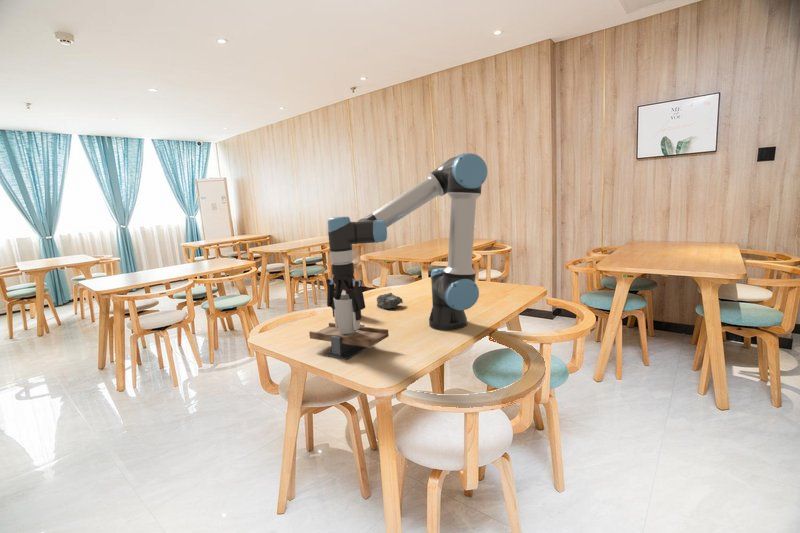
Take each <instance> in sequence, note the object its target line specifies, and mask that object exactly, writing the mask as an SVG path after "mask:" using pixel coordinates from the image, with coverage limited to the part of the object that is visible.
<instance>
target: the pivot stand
mask: <svg viewBox="0 0 800 533" xmlns="http://www.w3.org/2000/svg"><path fill="white" fill-rule="evenodd" d="M360 326H362V327H366V326H365V324H360ZM330 344H331V349H330V350H328V351H326V352H324V353H323V356H325V357H330V358H335V359H341V360H345V361H348V360H349V359H351V358H352V357H353V358H354V356H356V355H357V354H359V353H362V352H363V351H364V350H366V349H367V348H369V347H363V346H356V345H350V344H343V343H342V339H341V337H338V336H331V342H330Z"/></svg>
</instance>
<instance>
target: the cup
mask: <svg viewBox="0 0 800 533" xmlns="http://www.w3.org/2000/svg"><path fill="white" fill-rule="evenodd" d="M333 299H334V305H335V310H336V316H337V322H338V328H339V333H341V334H350V333H354V332H356V331H357V330H354V325H353V313H352V312H353V311H354V308H353V306H352V299H350V298H349V296H348V295H346V294H341V297H340V300H336V299H335V297H334V298H333Z"/></svg>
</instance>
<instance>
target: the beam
mask: <svg viewBox="0 0 800 533" xmlns="http://www.w3.org/2000/svg"><path fill="white" fill-rule="evenodd" d="M308 332H309V333H308V334H309V339H312V340H317V341H324V342H329V343H331V336H338V337H341V339H342V343H343V344H350V345H356V346H363V347H368V348H372V347H373V346H375V345H377V344H379V343H380V342H382V341H384V340H385V339H387V338H389V336H390V335H389V329H384V328H377V327H369V326H365V327H362V326H360V328H359V329H357V331H356V332H354V333H350V334H341V333H339V328H338V327H337V328H336V327H335V322H329V323H328V326H327V327H325V328H324V327H323V329H320V330H318V331H313V330H311V331H308Z"/></svg>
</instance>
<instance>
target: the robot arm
mask: <svg viewBox="0 0 800 533" xmlns="http://www.w3.org/2000/svg"><path fill="white" fill-rule="evenodd" d="M487 177H488V166H487V164H486V162H485V160H484V159H483V158H482V157H481V156H480V155H478V154H475V153H472V152H470V153H468V152H467V153H461V154H458V155H457V156H453V157H451V158H449V159H447V160H446V161H445V162H443V163H442V164H441V165H440V166H438V167H437V168H436V169H434V170H433V171H431V172H430V173H428V176H427V178H426V179H424V180H422V181H420V182H419V183H418V184H416V185H415V186H413V187H411V188H410V189H408V190H406V191H405V192H403V193H401V194H400V195H398V196H397V197H395V198H393V199H392V200H391V201H388V202H387V203H386V204H384V205H383V206H381V207H379V208H377V210H374V211H373V212H371V213H369V214H368V215H366V216H365V217H363V218H360V219H359V220H357V221H351V218H350V217H349V216H346V215H345V216H333V217H329V218H328V219H327V236H328V242H329V253H330V254H329V256H330V263H332V264H331V265H330V266H331V275H332V276H333V277H330V278H327V279H326V281H325V282H326V285H327V289H326V290H327V296H326V297H327V298H326V301H327V302H326V303H327V304H326V305H327V307H330V308H331V310H332V317H333V318H334V323H335V327H336V328H337V327H338V322H337V316H336V310H335V305H334V299H333V298H334V297H335V299H336V300H340V297H341V295H342V292H343V291H346V292H345V294H346V293H347V294H348V296H349V298H350V299H352V306H353V308H354V311H353V312H352V313H353V325H354V330H357V329H359V328H360V325H361V321H360V320H362V310H364V309H366V302H365V297H364V292H363V288H362V286H363V284H362V283H363V280H362V279H355V277H354V273H355V264H354V263H353V261H354V254H353V245H359V244H362V245H363V244H374V243H375V244H378V243H384V242H386V241H387V238H388V228H389V227H390V226H392V225H394V224H395V223H397V222H399V221H400V220H402V219H403V218H405V217H406V216H407V215H409V214H411V213H412V212H415V211H416V210H417V209H419V208H420V207H422V206H424V205H426V204H427V203H429V202H430V201H432V200H433V199H435V198H436V197H438V196H440V197H443V196H445V195H446V194H447V195H448V197H449V198H450V200H451V202H450V203H451V204H450V216H449V217H450V218H449V237H448V252H447V255H448V256H447V266H446V267H441V268H440V267H439V268H434V269H432V270H431V272H430V273H431V274H430V279H431V280H430V281H431V300H432V302H431V303H432V306H431V311H430V314H429V317H428V324H429V327H431V328H432V329H435V330H439V331H453V330H454V331H455V330H460V329H463V328H465V327H467V326H468V318H467V315H466V313H465V311H466V310H469V309H471V308H472V307H473V306H474V305H476V303H477V302H478V301H479V300H478V299H479V297H480V290H479V286H478V284H477V283H476V275H477V274H476V271H475V270H474V269H473V254H474V253H473V252H474V250H473V249H474V238H475V236H474V235H475V225H476V224H475V222H476V210H477V208H476V207H477V206H476V205H477V199H478V198H479V197H480V196H482V188H483V187H482V185H483V184H485V181H486V180H487ZM353 283H354V286H353ZM349 289H351V290H349Z"/></svg>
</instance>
